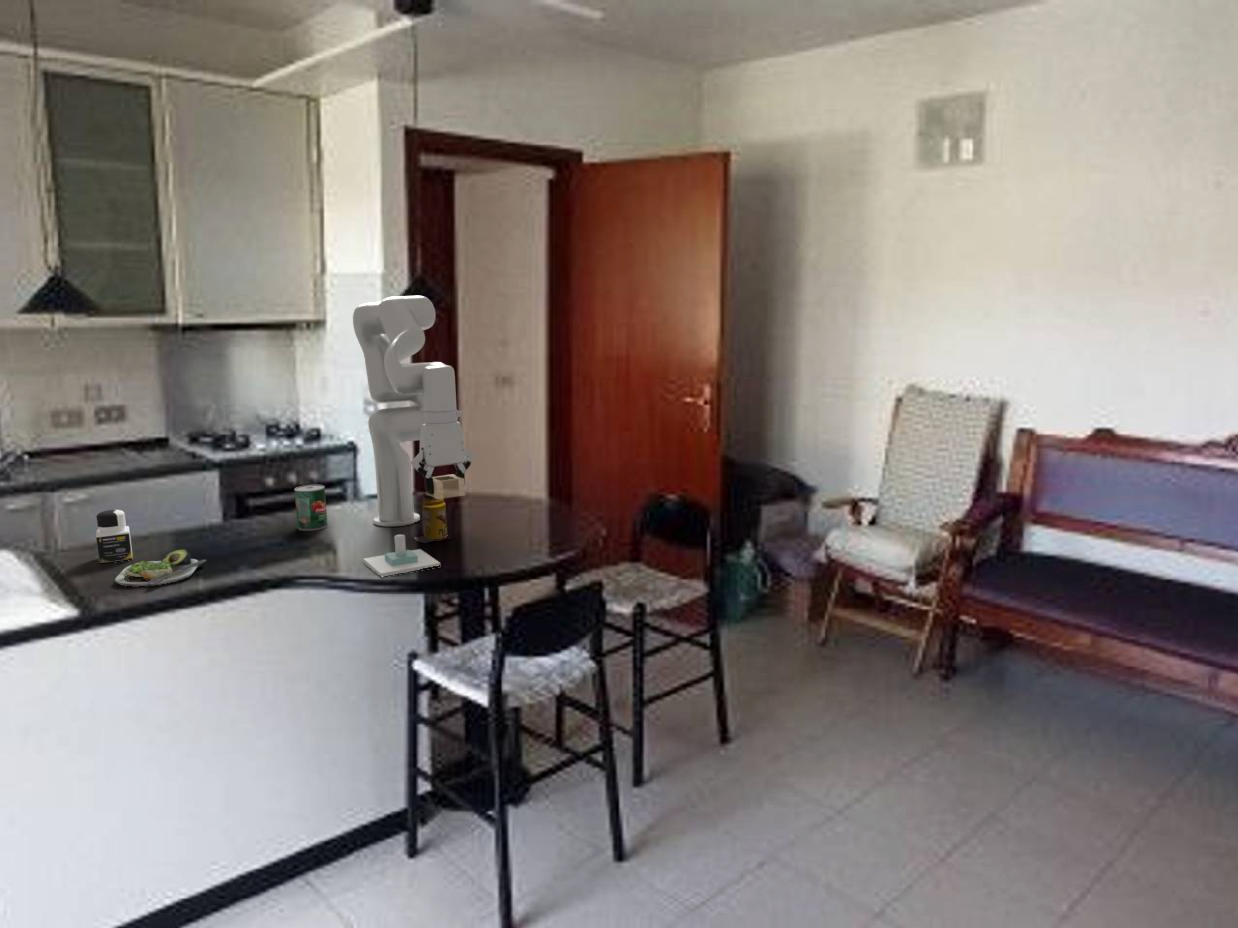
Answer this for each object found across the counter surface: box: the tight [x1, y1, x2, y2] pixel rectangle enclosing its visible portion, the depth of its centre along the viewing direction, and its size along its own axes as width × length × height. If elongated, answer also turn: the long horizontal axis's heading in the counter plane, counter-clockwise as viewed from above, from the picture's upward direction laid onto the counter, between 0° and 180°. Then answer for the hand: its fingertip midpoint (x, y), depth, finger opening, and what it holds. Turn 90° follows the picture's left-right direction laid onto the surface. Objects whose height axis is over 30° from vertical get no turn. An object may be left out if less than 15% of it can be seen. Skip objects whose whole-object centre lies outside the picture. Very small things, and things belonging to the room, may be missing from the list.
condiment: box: [421, 492, 448, 540], centre depth 241 cm, size 7×8×12 cm
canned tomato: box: [293, 484, 329, 532], centre depth 256 cm, size 8×8×11 cm
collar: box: [425, 473, 466, 499], centre depth 225 cm, size 7×7×4 cm
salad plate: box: [114, 549, 207, 588], centre depth 215 cm, size 19×18×5 cm
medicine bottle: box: [95, 509, 133, 562], centre depth 229 cm, size 7×7×12 cm
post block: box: [362, 534, 441, 577], centre depth 219 cm, size 14×14×7 cm
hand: (445, 490), depth 225 cm, fingers closed on collar, 7 cm apart
